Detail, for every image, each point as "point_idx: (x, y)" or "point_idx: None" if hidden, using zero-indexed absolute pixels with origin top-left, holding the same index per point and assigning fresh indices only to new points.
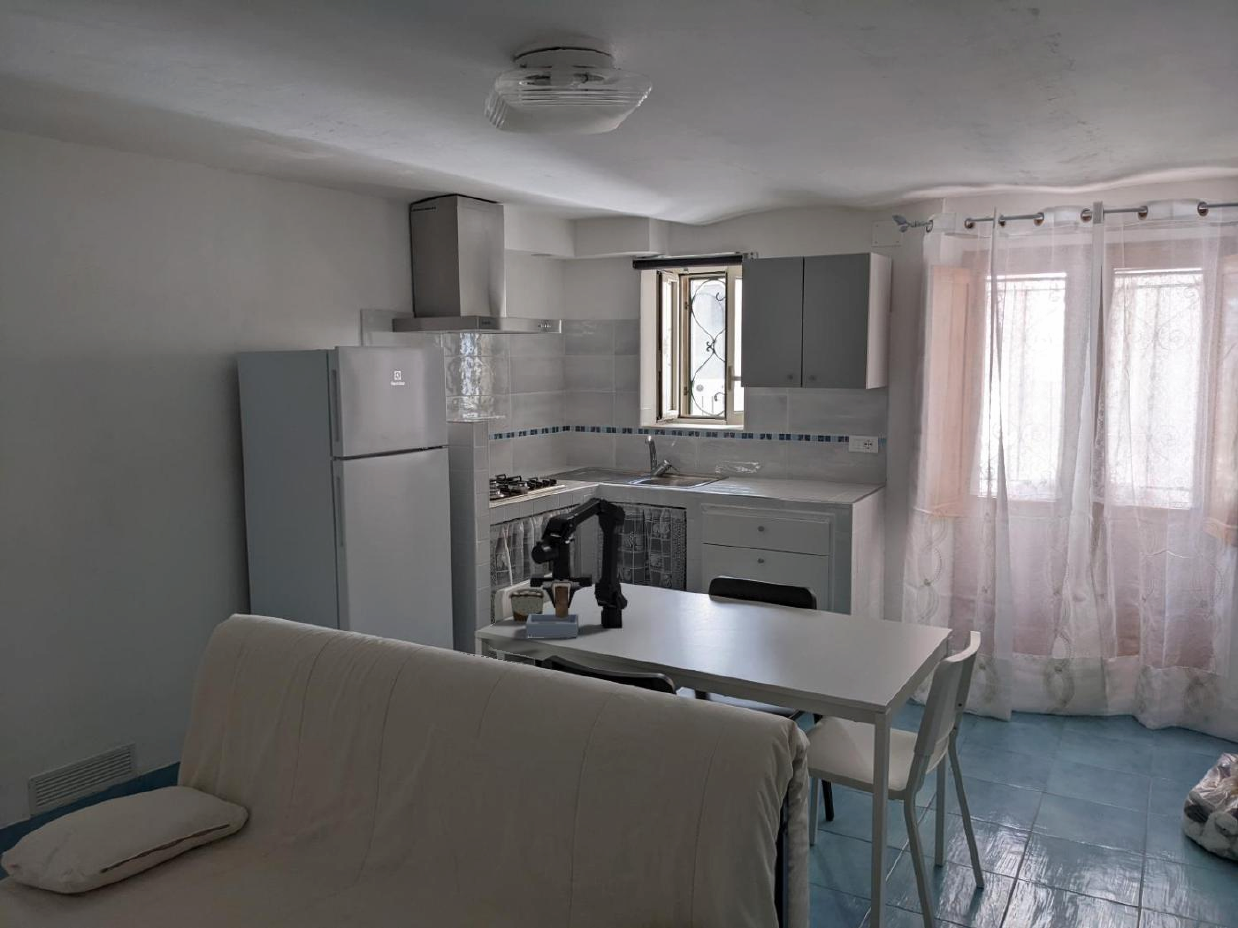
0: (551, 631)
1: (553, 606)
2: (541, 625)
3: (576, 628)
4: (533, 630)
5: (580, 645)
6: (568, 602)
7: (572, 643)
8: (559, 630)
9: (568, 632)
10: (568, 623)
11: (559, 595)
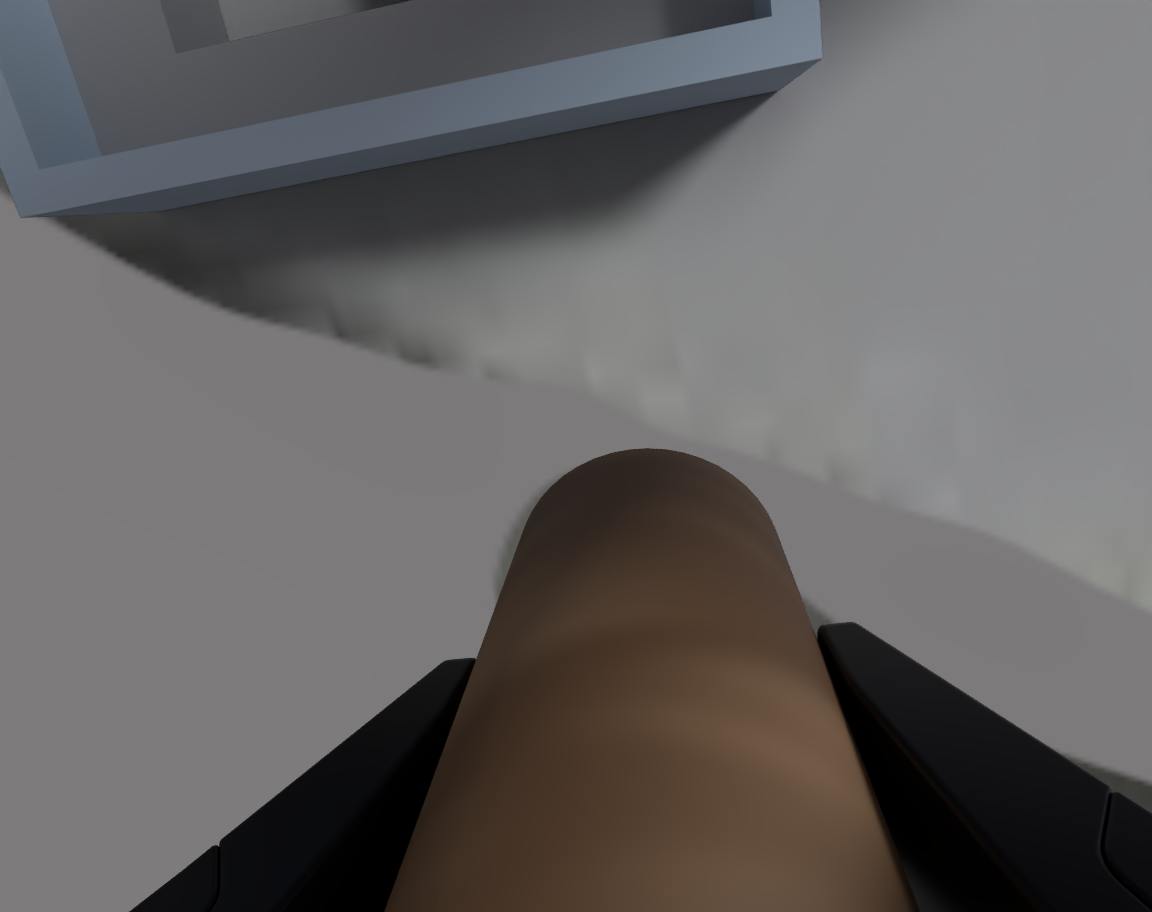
0: (426, 151)
1: None
2: (251, 174)
3: (801, 73)
4: (184, 197)
5: (859, 383)
6: None
7: (752, 324)
8: (535, 125)
9: (668, 105)
10: (668, 48)
11: None
